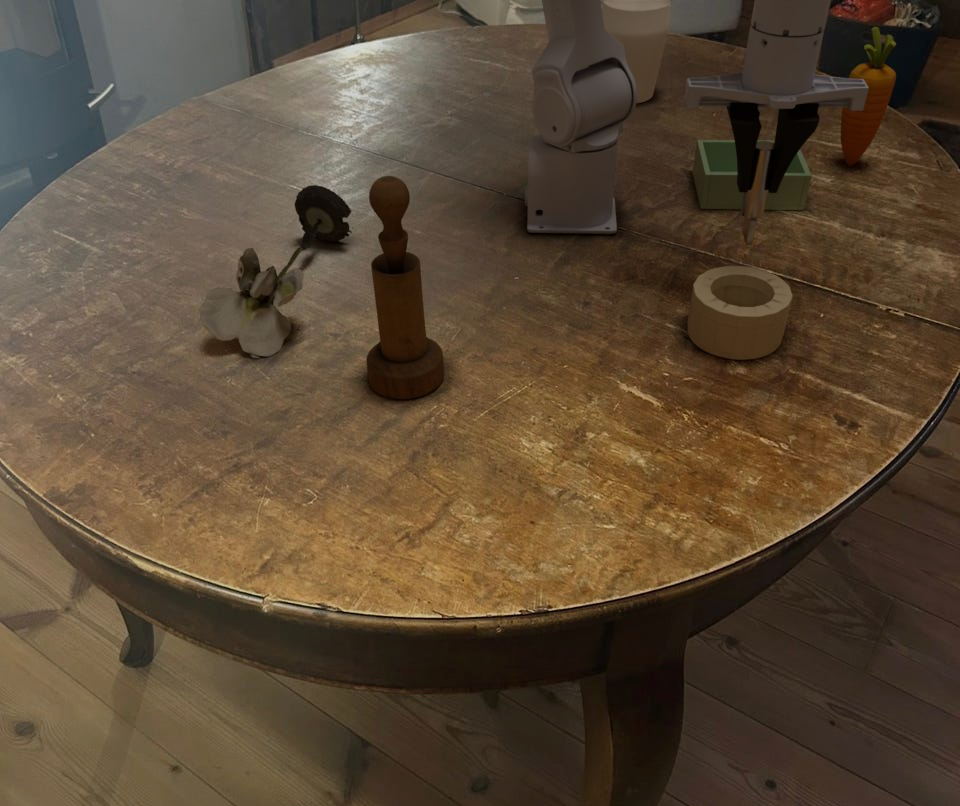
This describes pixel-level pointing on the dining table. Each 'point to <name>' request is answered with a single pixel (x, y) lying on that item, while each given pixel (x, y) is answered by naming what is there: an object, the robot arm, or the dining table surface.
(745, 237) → the metallic cylinder
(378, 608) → the dining table surface
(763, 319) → the beige round bowl
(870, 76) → the carrot
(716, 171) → the bin
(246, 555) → the dining table surface
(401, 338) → the mortar and pestle
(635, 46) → the cup
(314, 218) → the artificial flower
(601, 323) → the dining table surface
